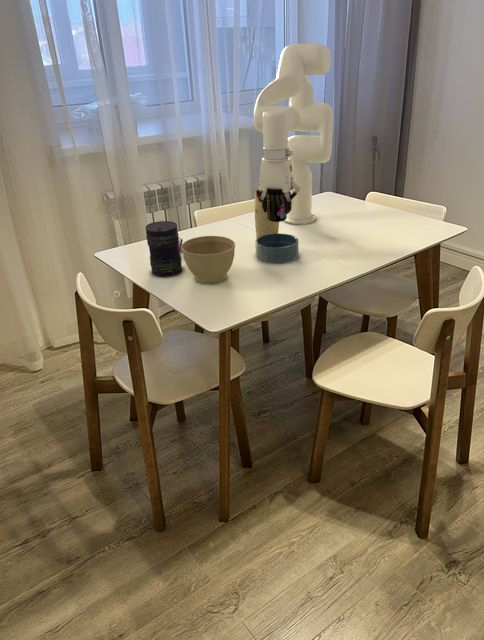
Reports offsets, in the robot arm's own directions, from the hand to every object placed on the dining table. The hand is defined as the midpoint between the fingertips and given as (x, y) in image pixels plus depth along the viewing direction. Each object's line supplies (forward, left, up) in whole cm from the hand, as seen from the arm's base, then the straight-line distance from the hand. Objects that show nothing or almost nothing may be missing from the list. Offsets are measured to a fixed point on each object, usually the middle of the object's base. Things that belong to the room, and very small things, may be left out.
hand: (276, 211), depth 173 cm
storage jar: (+22, -30, -15) cm, 40 cm away
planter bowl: (+23, -14, -15) cm, 31 cm away
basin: (0, 0, -15) cm, 15 cm away
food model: (-13, -8, -15) cm, 22 cm away
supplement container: (0, 0, -3) cm, 3 cm away
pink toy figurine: (+7, -34, -15) cm, 38 cm away
